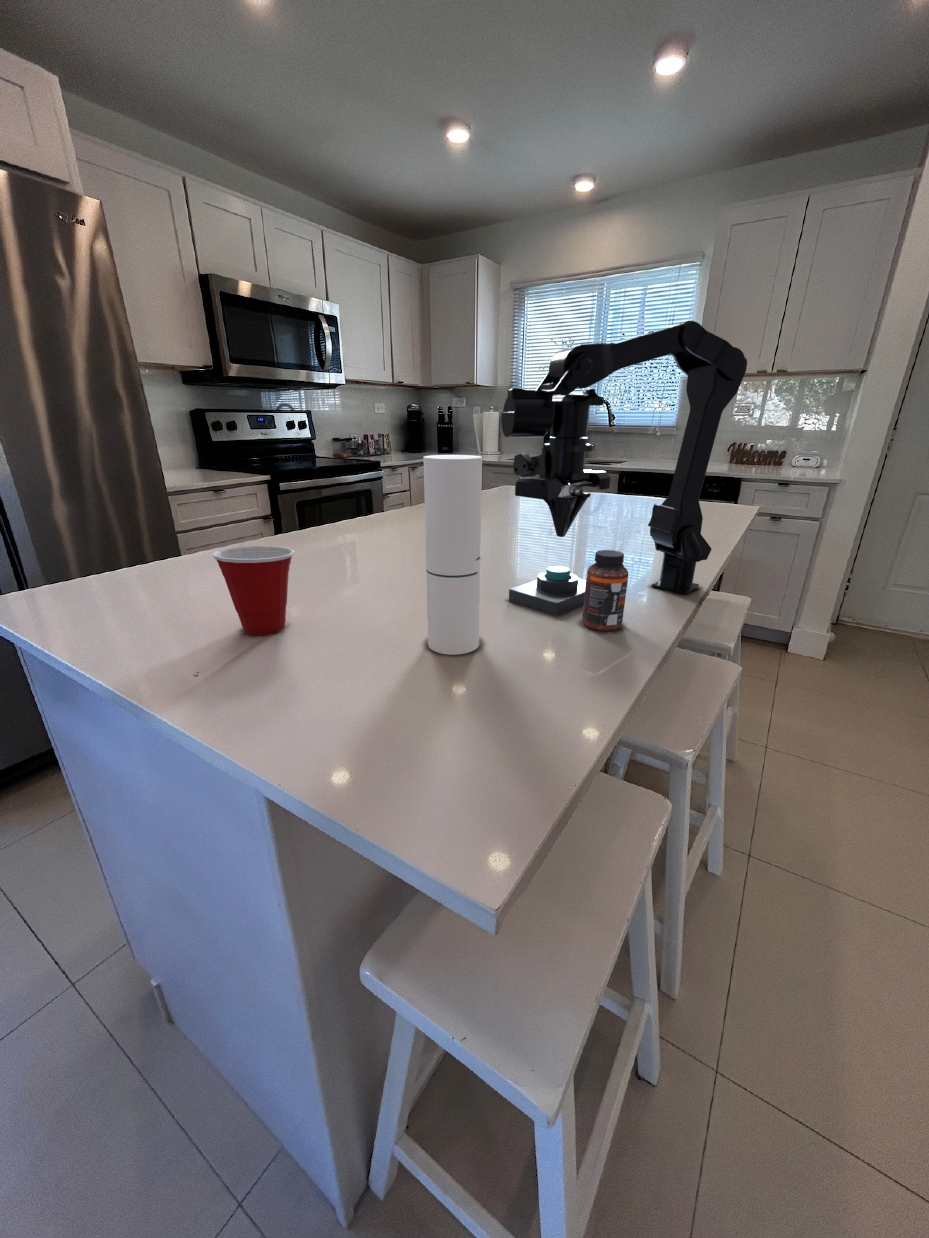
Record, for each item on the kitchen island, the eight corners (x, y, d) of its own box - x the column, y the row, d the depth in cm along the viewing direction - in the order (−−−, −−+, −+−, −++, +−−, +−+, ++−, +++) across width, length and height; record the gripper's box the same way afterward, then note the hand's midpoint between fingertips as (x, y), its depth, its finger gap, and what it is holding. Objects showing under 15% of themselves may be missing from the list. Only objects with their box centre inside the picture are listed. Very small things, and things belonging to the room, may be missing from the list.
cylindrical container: (485, 637, 73) (489, 455, 64) (469, 657, 67) (471, 459, 58) (439, 630, 75) (436, 454, 66) (419, 650, 69) (413, 458, 60)
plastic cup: (318, 621, 79) (310, 545, 74) (266, 647, 70) (253, 563, 65) (265, 610, 83) (254, 537, 78) (209, 634, 74) (193, 553, 69)
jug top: (555, 583, 97) (557, 563, 95) (602, 595, 90) (604, 574, 89) (508, 601, 88) (509, 578, 86) (556, 616, 81) (558, 592, 80)
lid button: (554, 574, 90) (555, 564, 90) (574, 578, 88) (574, 569, 87) (541, 578, 88) (541, 569, 87) (560, 583, 85) (561, 573, 84)
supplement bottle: (623, 634, 74) (633, 559, 70) (581, 630, 76) (589, 556, 71) (620, 619, 80) (629, 548, 76) (581, 616, 81) (588, 546, 77)
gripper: (560, 434, 90) (553, 522, 96) (489, 437, 78) (487, 537, 84) (616, 436, 83) (606, 531, 89) (548, 439, 71) (542, 549, 77)
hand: (560, 536), depth 85 cm, fingers closed
